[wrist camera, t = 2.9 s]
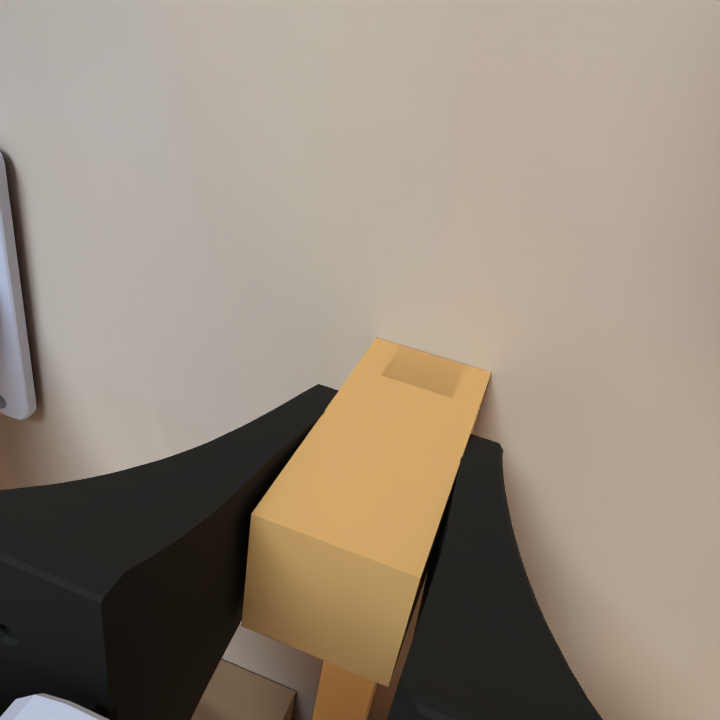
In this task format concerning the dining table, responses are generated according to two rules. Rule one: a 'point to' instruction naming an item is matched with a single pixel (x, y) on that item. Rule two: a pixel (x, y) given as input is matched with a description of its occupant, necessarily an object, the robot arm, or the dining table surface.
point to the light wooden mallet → (361, 520)
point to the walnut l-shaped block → (243, 697)
